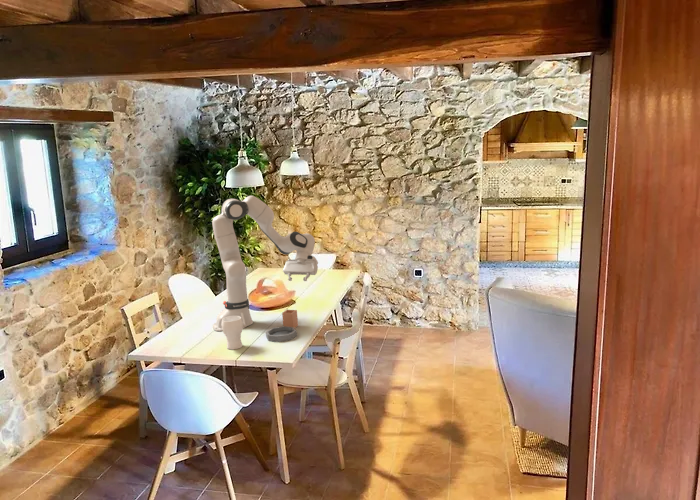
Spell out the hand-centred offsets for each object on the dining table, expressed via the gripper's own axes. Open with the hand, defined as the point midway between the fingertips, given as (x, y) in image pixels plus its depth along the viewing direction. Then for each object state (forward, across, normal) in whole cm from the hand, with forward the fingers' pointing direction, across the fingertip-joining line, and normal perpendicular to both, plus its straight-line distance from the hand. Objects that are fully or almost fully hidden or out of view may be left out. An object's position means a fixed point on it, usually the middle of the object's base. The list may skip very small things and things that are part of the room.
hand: (297, 280), depth 326 cm
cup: (+49, -16, -16) cm, 54 cm away
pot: (+25, 0, +8) cm, 26 cm away
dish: (+36, +2, -3) cm, 36 cm away
